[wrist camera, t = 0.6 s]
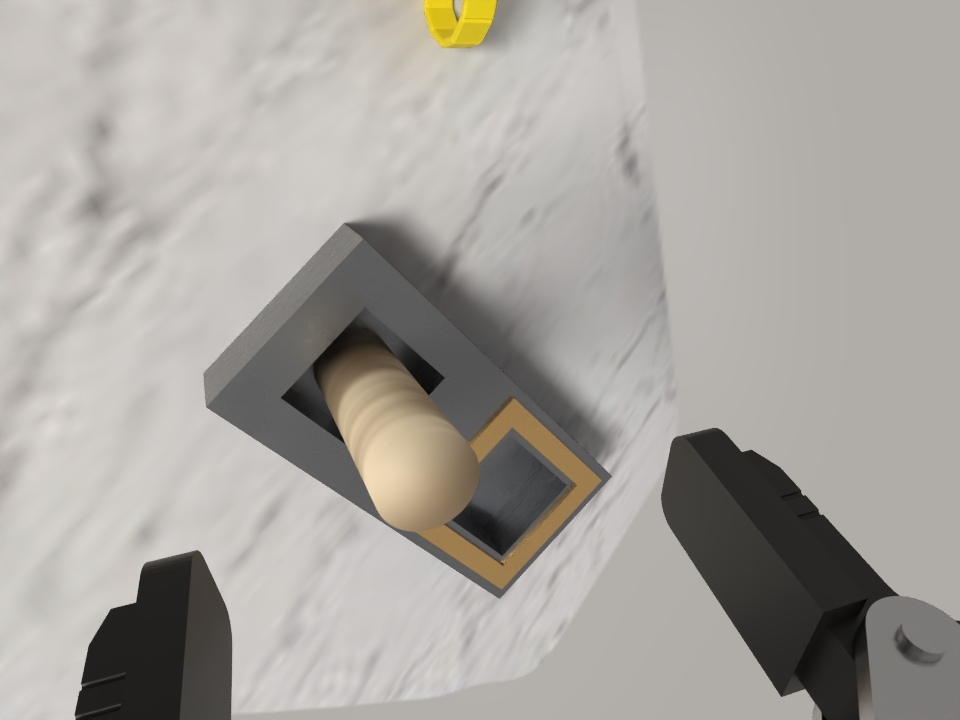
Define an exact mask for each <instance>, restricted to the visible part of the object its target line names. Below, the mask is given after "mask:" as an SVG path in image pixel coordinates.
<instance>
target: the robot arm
mask: <svg viewBox="0 0 960 720" xmlns="http://www.w3.org/2000/svg"><path fill="white" fill-rule="evenodd" d="M661 500H662V508H663V512H664V515H665V518H666V520H667V523H668V525H669V526H670V528H671V530H672V531H673V533H674V534H675V536H676V537H677V539H678V540H679V542H680V543H681V545H682V546H683V548H684V550H685V551H686V553H687V554H688V556H689V557H690V559H691V560H692V562H693V563H694V565H695V566H696V568H697V569H698V571H699V572H700V574H701V575H702V577H703V579H704V580H705V582H706V583H707V584H708V586H709V588H710V589H711V591H712V592H713V594H714V595H715V597H716V598H717V600H718V601H719V603H720V604H721V606H722V607H723V609H724V610H725V612H726V614H727V615H728V617H729V618H730V619H731V621H732V623H733V624H734V626H735V627H736V629H737V630H738V632H739V633H740V635H741V636H742V638H743V639H744V641H745V642H746V644H747V645H748V647H749V649H750V650H751V652H752V653H753V655H754V656H755V658H756V659H757V661H758V662H759V664H760V665H761V667H762V668H763V670H764V671H765V673H766V674H767V676H768V677H769V679H770V680H771V682H772V684H773V685H774V687H775V688H776V690H777V691H778V693H779V694H780V696H781V697H783V696H786V695H788V694H792V693H794V692H797V691H800V690H803V689H806V691H807V692H808V693H809V695H810V696H811V698H812V699H813V701H814V702H815V705H814V709H813V716H812V719H813V720H960V621H955V620H954V619H953V618H951V617H950V616H949V615H947V614H946V613H944V612H943V611H941V610H939V609H938V608H936V607H934V606H933V605H930V604H928V603H926V602H924V601H920V600H917V599H914V598H909V597H903V596H899V595H898V594H897V593H895V592H894V591H893V590H892V589H891V588H890V587H889V586H888V585H887V584H886V583H885V582H884V581H883V580H882V579H881V577H880V576H879V575H878V574H877V573H876V572H875V571H874V570H873V569H872V568H871V567H870V565H869V564H868V563H867V562H866V561H865V560H864V559H863V558H862V557H861V556H860V554H859V553H858V552H857V551H856V550H855V549H854V548H853V547H852V546H851V545H850V543H849V542H848V541H847V540H846V539H845V538H844V537H843V536H842V535H841V534H840V533H839V532H838V531H837V529H836V528H835V527H834V526H833V525H832V524H831V523H830V522H829V520H828V519H827V518H826V517H825V516H824V515H820V514H819V511H818V508H817V507H816V506H815V505H814V504H813V503H812V502H811V501H810V500H809V499H808V497H807V496H805V495H804V496H803V495H802V493H801V490H800V489H799V488H798V486H796V484H795V483H794V482H793V481H792V480H791V479H790V478H789V477H788V476H787V474H786V473H785V472H784V471H783V470H782V469H781V468H780V467H778V466H777V465H775V464H774V463H772V462H770V461H769V460H767V459H766V458H764V457H762V456H761V455H759V454H757V453H756V452H754V451H753V450H749V451H745V452H741V451H740V450H739V448H738V447H737V446H736V445H735V444H734V443H733V442H732V440H731V439H730V438H729V437H728V436H727V435H726V434H725V433H724V432H723V431H722V430H720V429H718V428H711V429H708V430H703V431H699V432H695V433H690V434H687V435H682V436H678V437H676V438H674V439H673V441H672V444H671V448H670V453H669V458H668V463H667V468H666V473H665V478H664V483H663V489H662V494H661ZM81 684H82V691H79V696H78V701H77V706H76V711H75V717H76V720H231V689H232V633H231V625H230V620H229V615H228V611H227V608H226V605H225V603H224V601H223V599H222V596H221V594H220V592H219V590H218V588H217V586H216V583H215V581H214V579H213V577H212V575H211V573H210V570H209V568H208V566H207V564H206V562H205V560H204V557H203V556H202V554H201V553H200V552H199V551H198V550H196V551H192V552H188V553H184V554H180V555H175V556H171V557H167V558H163V559H159V560H155V561H150V562H147V563H145V564H144V566H143V568H142V571H141V575H140V581H139V588H138V594H137V601H136V603H133V604H129V605H125V606H121V607H117V608H113V609H111V610H110V611H109V613H108V615H107V616H106V618H105V620H104V621H103V623H102V625H101V626H100V628H99V630H98V631H97V633H96V635H95V636H94V638H93V639H92V641H91V643H90V644H89V647H88V652H87V657H86V662H85V667H84V672H83V677H82V682H81Z"/></svg>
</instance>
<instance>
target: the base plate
mask: <svg viewBox="0 0 960 720" xmlns="http://www.w3.org/2000/svg"><path fill="white" fill-rule="evenodd" d="M350 328H360V329H365V330H368V331H371V332H373V333H375V334H376V335H377V336H379V337H380V338H381V339H382V340H383V341H384V342H385V344H386V345H387V346H388V347H389V348H390V350H391V351H392V352H393V353H394V355H395V356H396V357H397V358H398V359H399V361H400V362H401V363H402V364H403V365H404V367H405V368H406V369H407V370H408V371H409V373H410V374H411V375H412V376H413V377H414V379H415V380H416V381H417V382H418V383H419V385H420V386H421V387H422V388H423V389H424V391H425V392H426V393H427V394H428V396H429V397H430V398H431V399H432V400H433V402H434V403H435V404H436V405H437V406H438V408H439V409H440V410H441V411H442V412H443V414H444V415H445V416H446V417H447V418H448V420H449V421H450V422H451V423H452V424H453V426H454V427H455V428H456V429H457V430H458V432H459V433H460V434H461V435H462V437H463V438H464V439H465V440H466V441H467V443H468V444H469V445H470V446H471V448H472V449H473V450H474V452H475V454H476V456H477V459H478V462H479V468H480V475H479V482H478V486H477V488H476V491H475V493H474V495H473V497H472V499H471V500H470V502H469V503H468V505H467V506H466V507H465V508H464V509H463V510H462V511H461V512H460V513H459V514H458V515H457V516H456V517H455V518H453V519H452V520H450V521H449V522H447V523H445V524H443V525H441V526H439V527H437V528H434V529H430V530H426V531H417V532H413V531H405V530H401V529H398V528H395V527H393V526H392V525H390V524H389V523H387V522H386V521H385V520H384V519H383V518H382V517H381V516H380V514H379V513H378V511H377V509H376V507H375V505H374V503H373V500H372V498H371V496H370V494H369V492H368V490H367V488H366V486H365V484H364V482H363V479H362V477H361V475H360V473H359V471H358V469H357V467H356V465H355V463H354V460H353V458H352V456H351V454H350V452H349V450H348V448H347V446H346V444H345V441H344V439H343V437H342V435H341V433H340V431H339V429H338V427H337V425H336V422H335V420H334V418H333V416H332V414H331V412H330V410H329V408H328V406H327V404H326V401H325V399H324V397H323V395H322V393H321V391H320V389H319V387H318V385H317V382H316V380H315V377H314V373H313V363H314V361H315V360H316V359H317V358H318V357H319V356H320V355H321V354H322V353H323V352H324V351H325V350H326V349H327V347H328V346H329V345H330V344H331V343H332V342H333V341H334V340H335V339H336V338H337V337H338V336H339V335H340V333H341V332H342V331H343V330H345V329H350ZM204 387H205V399H206V407H207V408H208V409H210V410H211V411H213V412H214V413H216V414H217V415H219V416H220V417H222V418H224V419H225V420H227V421H228V422H230V423H231V424H233V425H234V426H236V427H237V428H239V429H240V430H242V431H243V432H245V433H247V434H248V435H250V436H251V437H253V438H254V439H256V440H257V441H259V442H260V443H262V444H263V445H265V446H266V447H268V448H269V449H271V450H273V451H274V452H276V453H277V454H279V455H280V456H282V457H283V458H285V459H286V460H288V461H289V462H291V463H292V464H294V465H295V466H297V467H299V468H300V469H302V470H303V471H305V472H306V473H308V474H309V475H311V476H312V477H314V478H315V479H317V480H318V481H320V482H322V483H323V484H325V485H326V486H328V487H329V488H331V489H332V490H334V491H335V492H337V493H338V494H340V495H341V496H343V497H344V498H346V499H348V500H349V501H351V502H352V503H354V504H355V505H357V506H358V507H360V508H361V509H363V510H364V511H366V512H367V513H369V514H370V515H372V516H374V517H375V518H377V519H378V520H380V521H381V522H383V523H384V524H386V525H387V526H389V527H390V528H392V529H393V530H395V531H396V532H398V533H400V534H401V535H403V536H404V537H406V538H407V539H409V540H410V541H412V542H413V543H415V544H416V545H418V546H419V547H421V548H423V549H424V550H426V551H427V552H429V553H430V554H432V555H433V556H435V557H436V558H438V559H439V560H441V561H442V562H444V563H445V564H447V565H449V566H450V567H452V568H453V569H455V570H456V571H458V572H459V573H461V574H462V575H464V576H465V577H467V578H468V579H470V580H471V581H473V582H475V583H476V584H478V585H479V586H481V587H482V588H484V589H485V590H487V591H488V592H490V593H491V594H493V595H494V596H496V597H498V598H499V599H500V598H501V597H502V596H503V595H504V593H505V592H506V591H507V590H508V589H509V588H510V587H511V586H512V585H513V584H514V583H515V581H516V580H517V579H518V578H519V577H520V576H521V575H522V574H523V573H524V572H525V571H526V569H527V568H528V567H529V566H530V565H531V564H532V563H533V562H534V561H535V560H536V559H537V558H538V556H539V555H540V554H541V553H542V552H543V551H544V550H545V549H546V548H547V547H548V546H549V544H550V543H551V542H552V541H553V540H554V539H555V538H556V537H557V536H558V535H559V534H560V532H561V531H562V530H563V529H564V528H565V527H566V526H567V525H568V524H569V523H570V522H571V520H572V519H573V518H574V517H575V516H576V515H577V514H578V513H579V512H580V511H581V510H582V508H583V507H584V506H585V505H586V504H587V503H588V502H589V501H590V500H591V499H592V498H593V496H594V495H595V494H596V493H597V492H598V491H599V490H600V489H601V488H602V487H603V486H604V484H605V483H606V482H607V481H608V480H609V479H610V478H611V477H612V476H611V475H610V474H609V473H608V472H607V471H606V470H605V469H604V468H603V467H602V466H601V465H600V464H599V463H598V462H597V461H596V460H595V459H594V458H592V457H591V456H590V455H589V454H588V453H587V452H586V451H585V450H584V449H583V448H582V447H581V446H580V445H579V444H578V443H577V442H576V441H575V440H574V439H573V438H572V437H571V436H569V435H568V434H567V433H566V432H565V431H564V430H563V429H562V428H561V427H560V426H559V425H558V424H557V423H556V422H555V421H554V420H553V419H552V418H551V417H550V416H549V415H548V414H546V413H545V412H544V411H543V410H542V409H541V408H540V407H539V406H538V405H537V404H536V403H535V402H534V401H533V400H532V399H531V398H530V397H529V396H528V395H527V394H526V393H524V392H523V391H522V390H521V389H520V388H519V387H518V386H517V385H516V384H515V383H514V382H513V381H512V380H511V379H510V378H509V377H508V376H507V375H506V374H505V373H504V372H503V371H501V370H500V369H499V368H498V367H497V366H496V365H495V364H494V363H493V362H492V361H491V360H490V359H489V358H488V357H487V356H486V355H485V354H484V353H483V352H482V351H481V350H480V349H478V348H477V347H476V346H475V345H474V344H473V343H472V342H471V341H470V340H469V339H468V338H467V337H466V336H465V335H464V334H463V333H462V332H461V331H460V330H459V329H458V328H457V327H455V326H454V325H453V324H452V323H451V322H450V321H449V320H448V319H447V318H446V317H445V316H444V315H443V314H442V313H441V312H440V311H439V310H438V309H437V308H436V307H435V306H434V305H432V304H431V303H430V302H429V301H428V300H427V299H426V298H425V297H424V296H423V295H422V294H421V293H420V292H419V291H418V290H417V289H416V288H415V287H414V286H413V285H412V284H411V283H409V282H408V281H407V280H406V279H405V278H404V277H403V276H402V275H401V274H400V273H399V272H398V271H397V270H396V269H395V268H394V267H393V266H392V265H391V264H390V263H389V262H388V261H386V260H385V259H384V258H383V257H382V256H381V255H380V254H379V253H378V252H377V251H376V250H375V249H374V248H373V247H372V246H371V245H370V244H369V243H368V242H367V241H366V240H365V239H363V238H362V237H361V236H360V235H358V234H357V233H356V232H354V231H353V230H352V229H351V228H349V227H348V226H347V225H345V224H343V225H342V226H341V227H340V228H339V229H338V230H337V231H336V232H335V233H334V235H333V236H332V237H331V238H330V239H329V240H328V241H327V242H326V243H325V244H324V245H323V246H322V247H321V248H320V250H319V251H318V252H317V253H316V254H315V255H314V256H313V257H312V258H311V259H310V260H309V261H308V262H307V263H306V264H305V266H304V267H303V268H302V269H301V270H300V271H299V272H298V273H297V274H296V275H295V276H294V277H293V278H292V279H291V281H290V282H289V283H288V284H287V285H286V286H285V287H284V288H283V289H282V290H281V291H280V292H279V293H278V294H277V296H276V297H275V298H274V299H273V300H272V301H271V302H270V303H269V304H268V305H267V306H266V307H265V308H264V309H263V311H262V312H261V313H260V314H259V315H258V316H257V317H256V318H255V319H254V320H253V321H252V322H251V323H250V324H249V326H248V327H247V328H246V329H245V330H244V331H243V332H242V333H241V334H240V335H239V336H238V337H237V338H236V339H235V341H234V342H233V343H232V344H231V345H230V346H229V347H228V348H227V349H226V350H225V351H224V352H223V353H222V354H221V355H220V357H219V358H218V359H217V360H216V361H215V362H214V363H213V364H212V365H211V366H210V367H209V368H208V369H207V370H206V372H205V373H204Z"/></svg>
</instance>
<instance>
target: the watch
mask: <svg viewBox="0 0 960 720" xmlns="http://www.w3.org/2000/svg"><path fill="white" fill-rule="evenodd" d="M496 5H497V0H463V4H462V11H461V16H460V18H459V21H458V22H457V19H456V16H455V13H454V10H453V0H424V14H425V17H426V20H427V23H428V26H429V29H430V33H431V34H432V36H433V38H434V39H435V40H436V41H437V42H438V43H439V44H440V45H441V46H442V48H471V47H473V46H476V45H478V44H480V43H481V42H482V41H483V40H484V38H485V36H486V34H487V32H488V30H489V28H490V26H491V24H492V22H493V18H494V15H495V10H496Z"/></svg>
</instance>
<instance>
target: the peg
mask: <svg viewBox="0 0 960 720" xmlns="http://www.w3.org/2000/svg"><path fill="white" fill-rule="evenodd" d="M313 373H314V377H315V380H316V382H317V385H318V387H319V389H320V391H321V393H322V395H323V397H324V399H325V401H326V404H327V406H328V408H329V410H330V412H331V414H332V416H333V418H334V420H335V422H336V425H337V427H338V429H339V431H340V433H341V435H342V437H343V439H344V441H345V444H346V446H347V448H348V450H349V452H350V454H351V456H352V458H353V460H354V463H355V465H356V467H357V469H358V471H359V473H360V475H361V477H362V479H363V482H364V484H365V486H366V488H367V490H368V492H369V494H370V496H371V498H372V500H373V503H374V505H375V507H376V509H377V511H378V513H379V514H380V516H381V517H382V518H383V519H384V520H385V521H386V522H387V523H389V524H390V525H392V526H393V527H395V528H398V529H401V530H405V531H413V532H417V531H426V530H430V529H434V528H437V527H439V526H441V525H443V524H445V523H447V522H449V521H450V520H452V519H453V518H455V517H456V516H457V515H458V514H459V513H460V512H461V511H462V510H463V509H464V508H465V507H466V506H467V505H468V503H469V502H470V500H471V499H472V497H473V495H474V493H475V491H476V488H477V486H478V482H479V475H480V468H479V462H478V459H477V456H476V454H475V452H474V450H473V449H472V448H471V446H470V445H469V444H468V443H467V441H466V440H465V439H464V438H463V437H462V435H461V434H460V433H459V432H458V430H457V429H456V428H455V427H454V426H453V424H452V423H451V422H450V421H449V420H448V418H447V417H446V416H445V415H444V414H443V412H442V411H441V410H440V409H439V408H438V406H437V405H436V404H435V403H434V402H433V400H432V399H431V398H430V397H429V396H428V394H427V393H426V392H425V391H424V389H423V388H422V387H421V386H420V385H419V383H418V382H417V381H416V380H415V379H414V377H413V376H412V375H411V374H410V373H409V371H408V370H407V369H406V368H405V367H404V365H403V364H402V363H401V362H400V361H399V359H398V358H397V357H396V356H395V355H394V353H393V352H392V351H391V350H390V348H389V347H388V346H387V345H386V344H385V342H384V341H383V340H382V339H381V338H380V337H379V336H377V335H376V334H375V333H373V332H371V331H368V330H365V329H360V328H350V329H345V330H343V331H342V332H341V333H340V335H339V336H338V337H337V338H336V339H335V340H334V341H333V342H332V343H331V344H330V345H329V346H328V347H327V349H326V350H325V351H324V352H323V353H322V354H321V355H320V356H319V357H318V358H317V359H316V360H315V361H314V363H313Z"/></svg>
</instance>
